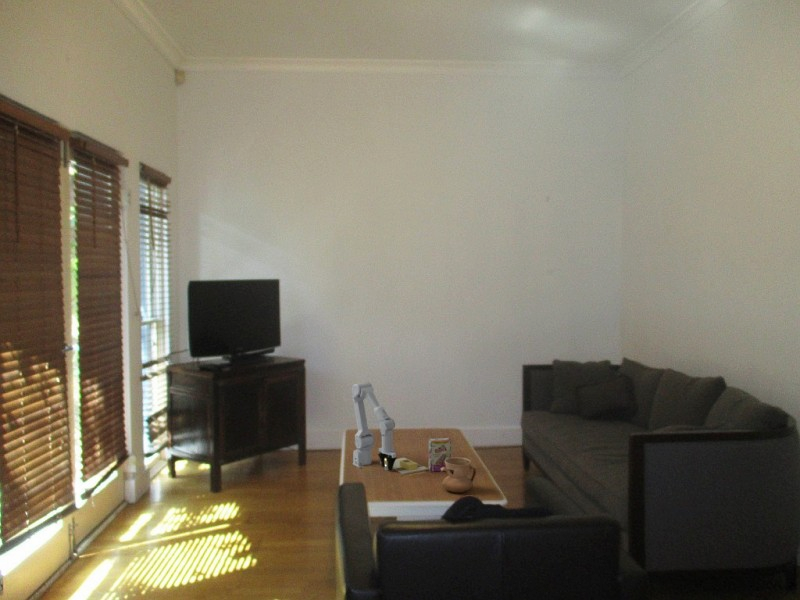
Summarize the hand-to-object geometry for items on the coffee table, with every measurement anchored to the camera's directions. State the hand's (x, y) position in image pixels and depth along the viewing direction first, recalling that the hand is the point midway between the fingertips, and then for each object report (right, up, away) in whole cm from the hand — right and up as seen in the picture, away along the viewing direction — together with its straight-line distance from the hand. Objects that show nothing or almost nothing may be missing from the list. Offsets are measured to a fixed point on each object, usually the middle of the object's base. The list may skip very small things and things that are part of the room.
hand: (387, 468), depth 351 cm
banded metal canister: (0, -2, 0) cm, 2 cm away
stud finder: (+11, -1, +3) cm, 11 cm away
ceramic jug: (+34, -3, -29) cm, 45 cm away
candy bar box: (+27, -2, +2) cm, 27 cm away
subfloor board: (+8, -1, +8) cm, 11 cm away
